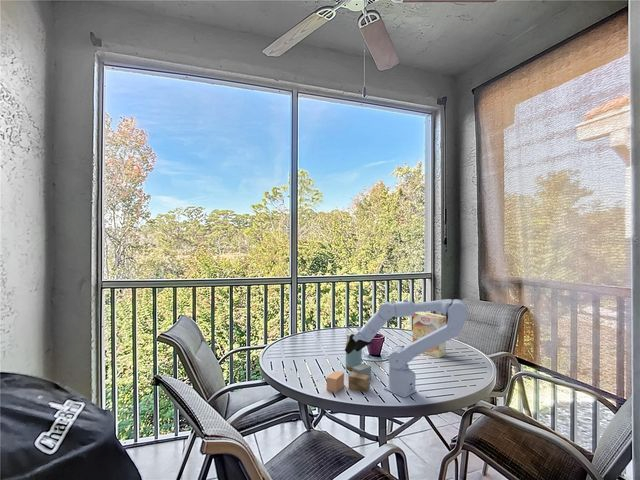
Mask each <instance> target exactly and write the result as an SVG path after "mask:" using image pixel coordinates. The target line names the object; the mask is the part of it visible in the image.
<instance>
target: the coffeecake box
mask: <svg viewBox="0 0 640 480" xmlns="http://www.w3.org/2000/svg"><path fill="white" fill-rule="evenodd" d="M445 325H447V316H446V315H443V314H436V313H432V312H428V311H427V312H415V314H414V315H413V316H412V342H414V341H416V340H418V339H420V338H422V337H424V336H426V335H428V334H430V333H432V332H434V331H435V330H437V329H439V328H441V327H443V326H445ZM446 353H447V341H446V342H444V343H442V344H440V345H438V346H436V347H434V348H432V349H430V350H428V351H426V352H424V353H423V354H425V355H428V356H431V357H435V358H442V357H444V356H446V355H447V354H446Z"/></svg>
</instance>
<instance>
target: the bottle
mask: <svg viewBox="0 0 640 480" xmlns="http://www.w3.org/2000/svg"><path fill="white" fill-rule="evenodd" d="M357 332H358V331H357ZM357 332H356V331H354V332H353V331H351V332H347V333H346V343H345V347H346V346H347V344H348V342H349V339H350V335H351V334H354V335H355V334H357ZM362 349H363V348H362ZM362 349H361V350H360V351H358V352H357V351H356V350H355V349H354V350H353V351H352V352H351V353H349V354H347V352H346V351H345V368H346V369H348V370H350V371H352V367H355V366H358V365H360V364H363V363H362V361H363V360H362V358H363V357H362V355H363V353H362Z"/></svg>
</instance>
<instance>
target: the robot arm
mask: <svg viewBox="0 0 640 480" xmlns="http://www.w3.org/2000/svg"><path fill="white" fill-rule="evenodd" d="M467 308H468V307H467V304H466V302H465V301H463V300H462V299H459V298H455V299H450V298H447V299H446V298H445V299H437V300H428V301H423V302H416V303H415V302H413V300H409V299H407V298H404V299H403V300H402V301H401V300H400V301H394V300H391V302H390V301H385V302H383V303H382V304H381V305H380V306H379V308H378V309H377V310H376V311H375V313H373V314H372V315H371V316H370V318H369V319H368V320H367V321H366V323H365V324H364V325H363V326H362V327H360V326H359V327H357V328H356V329H357V334H355V335H354V334H351V335H350V339H349V342H348V344H347V346H346V345H345V348H344V352H345V353H346V352H347V354H349V353H351V352H352V351H353V350H354V349H355V350H356V351H357V352H358V351H360V350H361V349H364V348H365V347H367V346H369V345H371V344H373V343H374V342H373V338H375V336H376V335H377V334H378V333H379V332H380V330H382V329H383V327H384V326H385V325H386V323H387V321H389V320H391V319H393V317H394V318H401V317H413V315H414V314H415V312H427V313H428V312H439V313H441V315H443V316H446V315H447V316H448V318H447V321H446V325H445V326H443V327H441V328H439V329H437V330H435V331H434V332H432V333H430V334H428V335H426V336H424V337H422V338H420V339H418V340H416V341H414V342H413V341H412V342H410V343H405V344H404V345H396V346H395V347H394V348H392V351H391V353H390V354H389V356H388V358H387V359H388V385H387V386H385V387H383V389H384V390H385V391H387V392H390V393H393V394H395V395H397V396H400V397H402V398H407V397H408V396H410V395H412V394H414V393H416V392H417V389H416V373H415V371H413V370H412V369H410V368H409V364H408V363H410V362H412V360H413V359H415V358H416V357H418V356H420V355H421V354H424V352H426V351H428V350H430V349H432V348H434V347H436V346H438V345H440V344H442V343H444V342H446V343H447V342H448V341H450V340H452V339H454V338H456V337H458V336H459V335H460V334H461V331H462V330H463V328H464V326H465V324H466V323H467V321H468V309H467Z"/></svg>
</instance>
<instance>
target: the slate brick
mask: <svg viewBox="0 0 640 480" xmlns="http://www.w3.org/2000/svg"><path fill="white" fill-rule="evenodd" d="M352 372H354V373H359V374H363V375H368V376H370V379H371V378H372V366H371V365H369V364H366V363H362V364H360V365H358V366H355V367H352V370H351V373H352Z"/></svg>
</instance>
